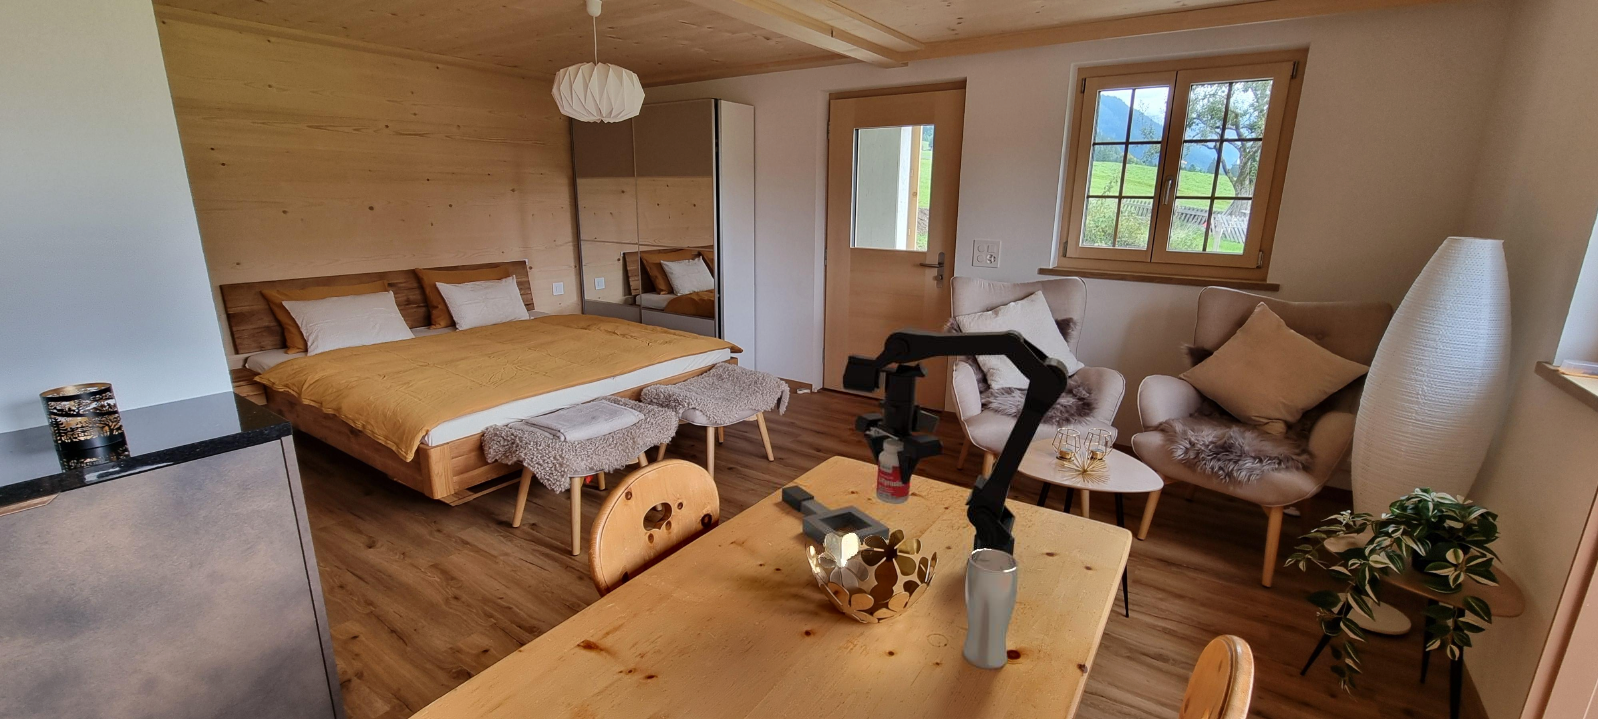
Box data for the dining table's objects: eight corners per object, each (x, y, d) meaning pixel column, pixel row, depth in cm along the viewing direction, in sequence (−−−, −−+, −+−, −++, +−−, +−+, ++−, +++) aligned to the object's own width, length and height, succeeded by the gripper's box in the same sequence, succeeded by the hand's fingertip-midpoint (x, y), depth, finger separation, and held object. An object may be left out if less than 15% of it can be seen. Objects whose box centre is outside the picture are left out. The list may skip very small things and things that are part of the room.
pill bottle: (872, 501, 128) (876, 444, 126) (880, 489, 134) (883, 435, 131) (905, 507, 126) (909, 450, 123) (911, 495, 131) (916, 439, 129)
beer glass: (972, 635, 103) (980, 542, 100) (1017, 654, 99) (1027, 558, 96) (951, 657, 98) (958, 560, 95) (997, 678, 94) (1007, 577, 91)
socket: (888, 542, 132) (889, 528, 131) (837, 557, 126) (837, 542, 125) (812, 493, 154) (812, 480, 154) (765, 503, 148) (765, 490, 148)
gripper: (968, 405, 122) (961, 488, 125) (900, 381, 137) (895, 455, 141) (921, 413, 116) (914, 499, 120) (855, 387, 132) (851, 464, 135)
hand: (893, 477), depth 129 cm, fingers closed on pill bottle, 6 cm apart
